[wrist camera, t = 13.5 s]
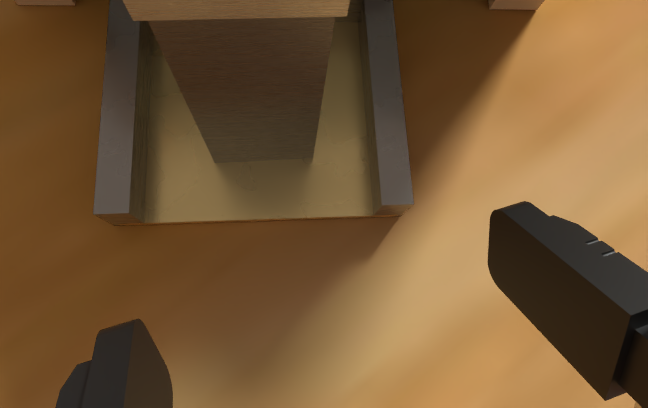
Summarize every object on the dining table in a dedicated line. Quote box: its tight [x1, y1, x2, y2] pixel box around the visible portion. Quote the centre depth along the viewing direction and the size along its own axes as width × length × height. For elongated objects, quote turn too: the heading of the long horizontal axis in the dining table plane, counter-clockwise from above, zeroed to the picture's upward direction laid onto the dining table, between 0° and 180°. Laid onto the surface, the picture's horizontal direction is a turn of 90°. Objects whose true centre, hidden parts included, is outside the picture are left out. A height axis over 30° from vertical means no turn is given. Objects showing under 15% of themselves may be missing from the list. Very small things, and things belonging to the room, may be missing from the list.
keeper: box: [93, 0, 414, 226], centre depth 18 cm, size 11×10×3 cm
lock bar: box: [123, 0, 350, 163], centre depth 14 cm, size 4×4×10 cm
